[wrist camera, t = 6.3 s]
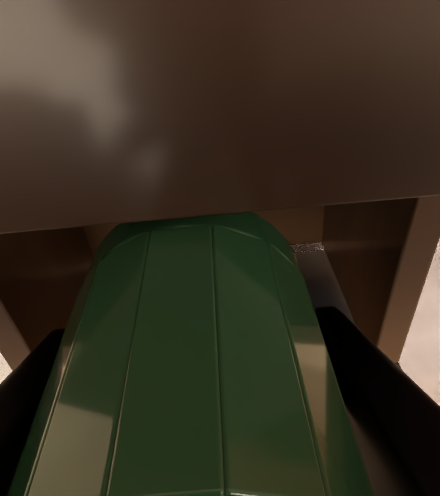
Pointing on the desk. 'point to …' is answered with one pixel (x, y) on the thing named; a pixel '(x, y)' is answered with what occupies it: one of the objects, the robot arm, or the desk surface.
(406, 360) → the desk surface
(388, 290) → the drawer
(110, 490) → the pot
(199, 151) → the dark brown wooden block
